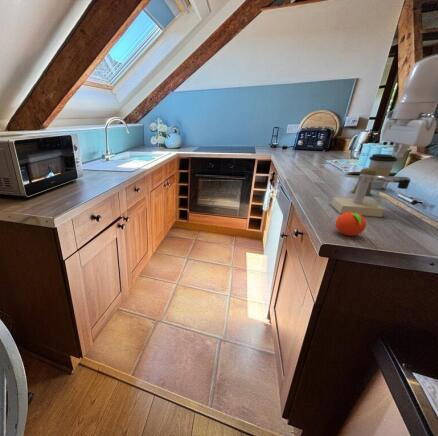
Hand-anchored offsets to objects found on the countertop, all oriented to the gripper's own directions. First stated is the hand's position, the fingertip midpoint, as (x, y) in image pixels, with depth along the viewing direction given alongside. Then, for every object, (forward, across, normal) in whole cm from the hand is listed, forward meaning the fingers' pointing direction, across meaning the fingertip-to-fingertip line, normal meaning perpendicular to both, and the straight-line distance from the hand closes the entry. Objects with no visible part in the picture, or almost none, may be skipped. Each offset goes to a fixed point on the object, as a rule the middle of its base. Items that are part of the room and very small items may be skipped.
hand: (396, 157), depth 83 cm
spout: (+10, -4, +3) cm, 11 cm away
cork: (+19, +21, -3) cm, 29 cm away
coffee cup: (+19, +33, -12) cm, 40 cm away
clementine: (+19, -28, +18) cm, 39 cm away
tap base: (+19, -4, +8) cm, 21 cm away
